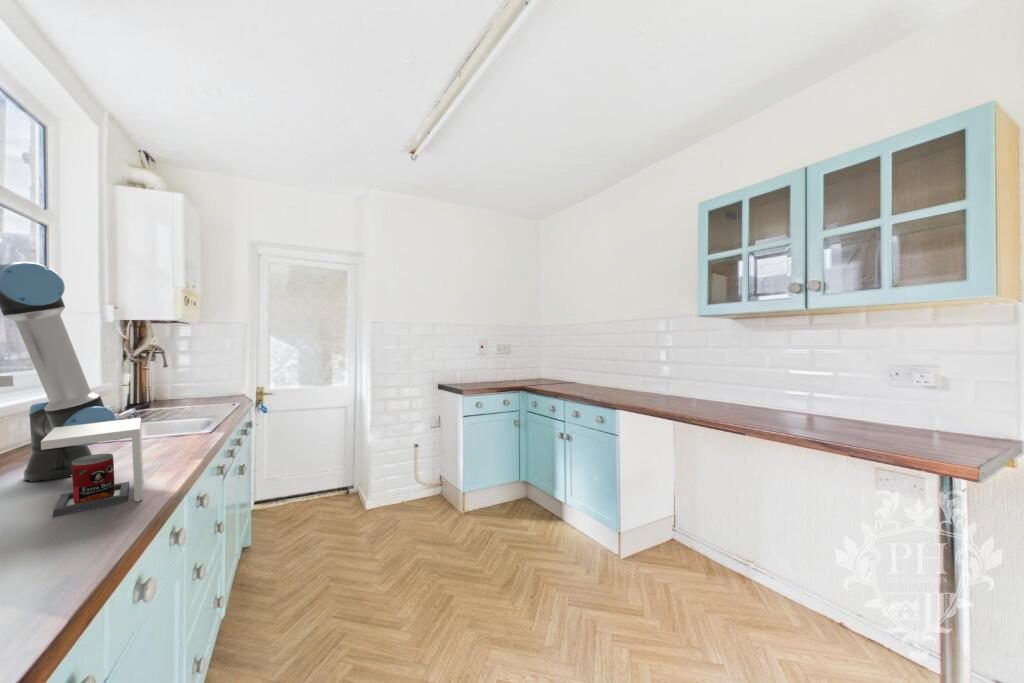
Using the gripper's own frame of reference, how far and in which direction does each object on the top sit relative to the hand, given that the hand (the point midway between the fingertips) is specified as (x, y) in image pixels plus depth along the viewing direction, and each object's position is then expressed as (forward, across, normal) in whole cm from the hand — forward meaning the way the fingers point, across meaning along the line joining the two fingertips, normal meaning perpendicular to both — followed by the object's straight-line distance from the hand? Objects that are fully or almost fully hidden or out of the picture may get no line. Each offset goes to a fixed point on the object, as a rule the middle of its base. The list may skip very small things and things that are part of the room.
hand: (6, 383), depth 100 cm
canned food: (+15, +4, -32) cm, 35 cm away
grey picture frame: (+14, +4, -32) cm, 35 cm away
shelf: (+14, +4, -32) cm, 35 cm away
